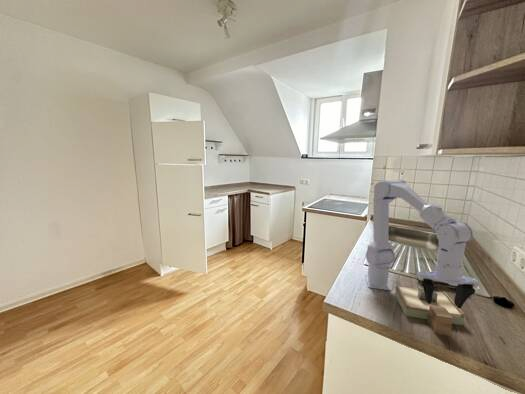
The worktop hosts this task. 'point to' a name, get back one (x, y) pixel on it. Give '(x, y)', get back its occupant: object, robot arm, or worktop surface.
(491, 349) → the worktop surface
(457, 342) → the worktop surface
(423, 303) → the lid
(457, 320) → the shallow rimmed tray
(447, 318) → the block
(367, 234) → the worktop surface
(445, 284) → the bolt
